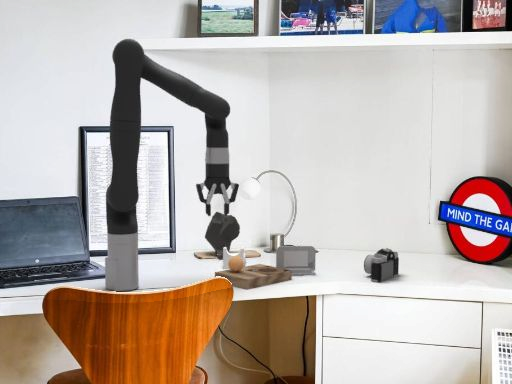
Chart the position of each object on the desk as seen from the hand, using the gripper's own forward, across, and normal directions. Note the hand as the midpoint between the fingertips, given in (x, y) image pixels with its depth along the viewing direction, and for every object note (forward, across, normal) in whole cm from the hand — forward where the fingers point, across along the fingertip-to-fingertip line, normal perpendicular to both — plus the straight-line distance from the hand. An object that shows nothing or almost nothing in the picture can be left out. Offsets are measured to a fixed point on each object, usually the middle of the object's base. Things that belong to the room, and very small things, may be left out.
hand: (217, 215), depth 212 cm
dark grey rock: (+22, +9, +42) cm, 48 cm away
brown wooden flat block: (+21, +12, -1) cm, 24 cm away
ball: (+16, +6, 0) cm, 17 cm away
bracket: (+22, +11, +25) cm, 35 cm away
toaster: (+22, +28, +8) cm, 36 cm away
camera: (+22, +54, -4) cm, 59 cm away
